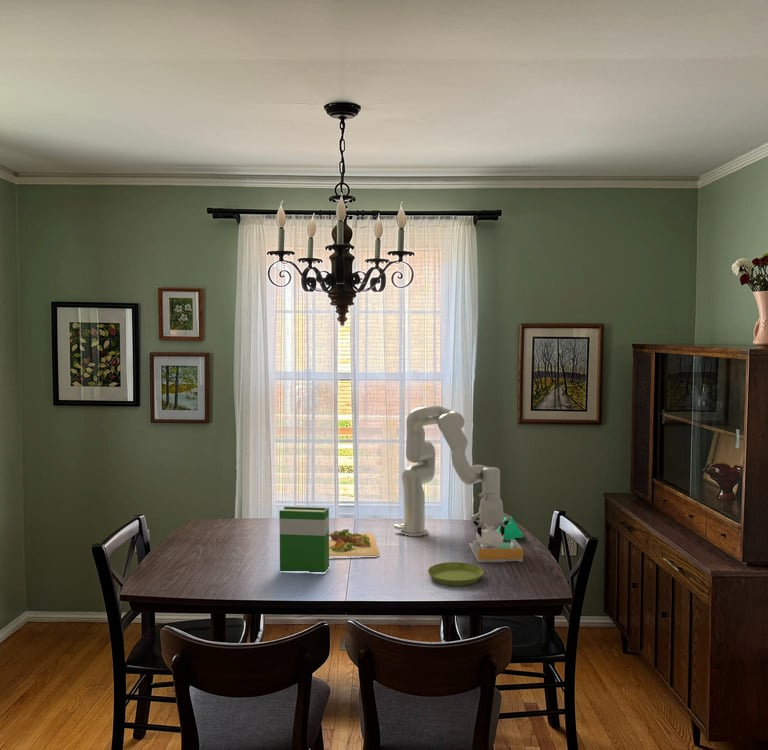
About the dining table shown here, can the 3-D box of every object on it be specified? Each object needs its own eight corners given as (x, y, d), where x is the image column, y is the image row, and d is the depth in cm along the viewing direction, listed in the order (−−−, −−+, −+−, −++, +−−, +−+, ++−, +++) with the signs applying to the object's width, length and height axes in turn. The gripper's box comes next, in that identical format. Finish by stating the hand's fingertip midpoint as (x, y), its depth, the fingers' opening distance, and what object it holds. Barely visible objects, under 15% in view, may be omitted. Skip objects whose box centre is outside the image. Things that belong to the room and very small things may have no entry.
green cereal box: (279, 572, 265) (279, 510, 264) (285, 566, 273) (284, 506, 272) (324, 574, 263) (324, 512, 262) (329, 568, 270) (328, 507, 269)
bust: (502, 549, 298) (502, 525, 304) (504, 543, 292) (504, 518, 298) (475, 548, 299) (475, 523, 305) (476, 541, 293) (476, 516, 299)
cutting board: (380, 559, 284) (379, 541, 284) (322, 561, 282) (322, 543, 282) (373, 536, 319) (372, 520, 319) (322, 538, 317) (321, 521, 316)
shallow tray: (478, 562, 277) (478, 549, 277) (468, 545, 301) (468, 533, 301) (523, 561, 278) (523, 549, 278) (509, 544, 302) (509, 533, 302)
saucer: (448, 566, 272) (448, 558, 272) (494, 577, 259) (494, 569, 259) (416, 580, 257) (416, 572, 256) (463, 592, 243) (463, 583, 243)
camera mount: (520, 535, 317) (520, 513, 317) (522, 540, 309) (522, 517, 309) (494, 535, 318) (493, 513, 317) (495, 540, 310) (495, 517, 310)
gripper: (472, 498, 293) (472, 538, 293) (513, 497, 294) (512, 538, 294) (469, 494, 300) (469, 533, 301) (509, 494, 301) (508, 533, 302)
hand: (490, 535), depth 298 cm, fingers closed on bust, 9 cm apart
